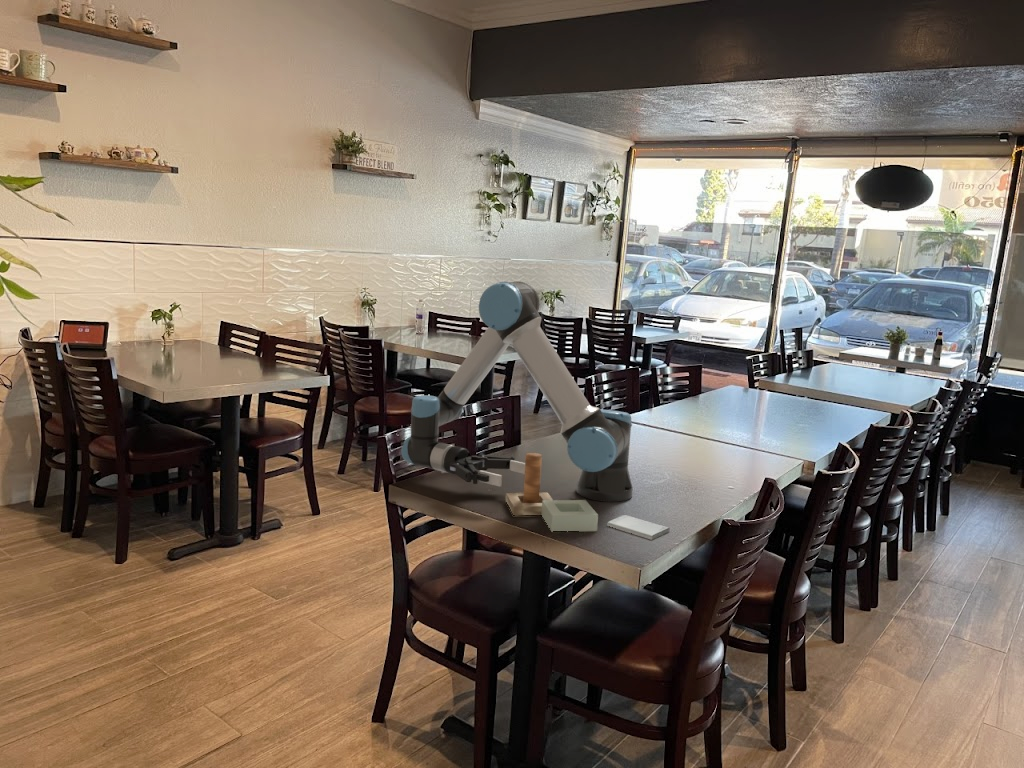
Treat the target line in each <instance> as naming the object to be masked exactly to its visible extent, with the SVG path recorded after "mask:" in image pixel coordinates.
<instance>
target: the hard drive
mask: <svg viewBox="0 0 1024 768" xmlns="http://www.w3.org/2000/svg"><path fill="white" fill-rule="evenodd" d="M609 526H610V528H612V527H613V528H612V529H615V528H616V529H617V530H619V531H621V532H626V533H627V534H631V533H632V535H635V536H638V537H642V538H645V539H647V540H651V541H652V540H655V539H657V538H659V537H662V536H663V535H665V534H667V533H669V532H670V527H667V526H664V525H661V524H658V523H654V522H652V521H651V522H650V521H647V520H643V519H640V518H637V517H633V516H631V515H626V514H624V515H623V514H622V515H620V516H618V517H616V518H614V519H612V520H609V521H608V522H607V523H606V527H609Z"/></svg>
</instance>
